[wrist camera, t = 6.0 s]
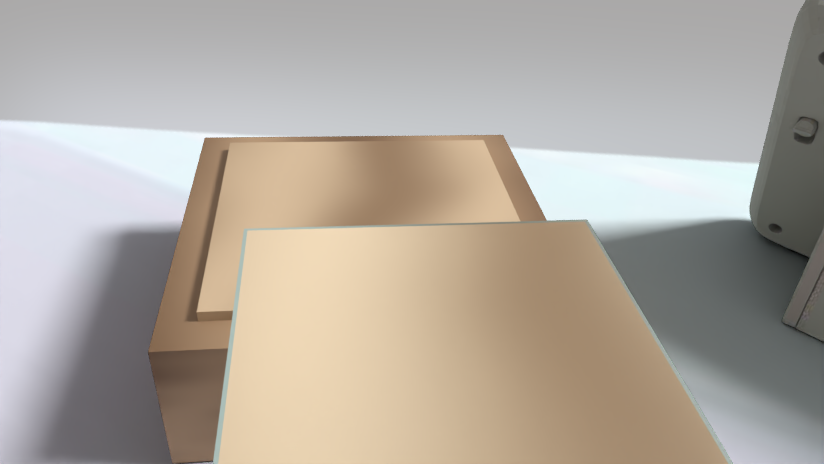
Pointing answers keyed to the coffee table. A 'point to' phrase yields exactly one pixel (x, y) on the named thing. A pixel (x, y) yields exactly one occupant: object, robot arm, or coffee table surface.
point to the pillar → (447, 352)
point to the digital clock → (797, 168)
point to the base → (301, 207)
